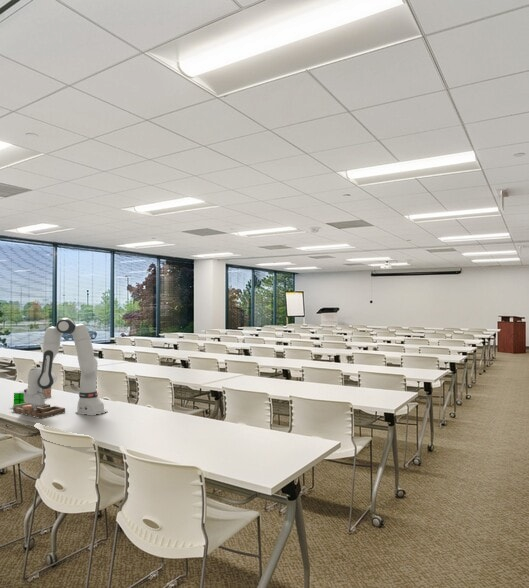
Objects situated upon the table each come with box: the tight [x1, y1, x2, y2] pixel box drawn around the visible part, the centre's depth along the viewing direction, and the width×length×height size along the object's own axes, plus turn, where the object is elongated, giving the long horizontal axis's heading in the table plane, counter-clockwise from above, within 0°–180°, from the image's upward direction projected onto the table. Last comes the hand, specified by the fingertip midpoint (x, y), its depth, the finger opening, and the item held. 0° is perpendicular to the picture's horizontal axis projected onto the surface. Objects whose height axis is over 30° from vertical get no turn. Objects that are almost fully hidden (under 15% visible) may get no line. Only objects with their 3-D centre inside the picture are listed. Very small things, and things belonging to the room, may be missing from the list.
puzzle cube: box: [13, 390, 31, 405], centre depth 338 cm, size 10×10×10 cm
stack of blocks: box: [42, 386, 52, 398], centre depth 371 cm, size 21×6×12 cm, turn 63°
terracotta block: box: [22, 405, 38, 413], centre depth 316 cm, size 8×6×4 cm
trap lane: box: [12, 403, 66, 419], centre depth 317 cm, size 33×20×4 cm, turn 58°
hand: (34, 410), depth 312 cm, fingers closed
